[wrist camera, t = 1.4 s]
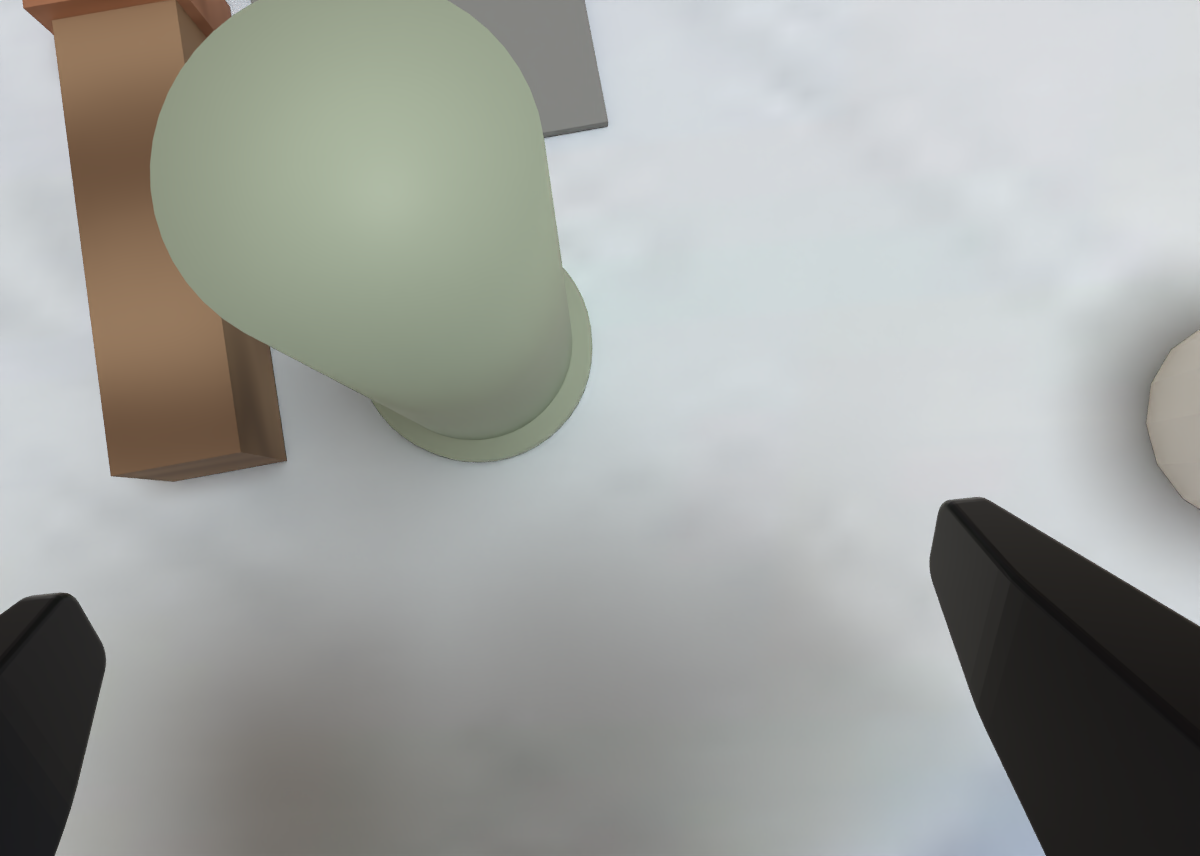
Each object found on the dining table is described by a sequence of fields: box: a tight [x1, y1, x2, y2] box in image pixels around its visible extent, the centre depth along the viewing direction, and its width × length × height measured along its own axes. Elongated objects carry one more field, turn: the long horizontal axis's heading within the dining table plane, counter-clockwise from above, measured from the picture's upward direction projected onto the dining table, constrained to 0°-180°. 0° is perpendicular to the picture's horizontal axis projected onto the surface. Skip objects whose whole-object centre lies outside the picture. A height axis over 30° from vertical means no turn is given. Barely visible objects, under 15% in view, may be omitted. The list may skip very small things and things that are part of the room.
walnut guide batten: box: [23, 0, 287, 482], centre depth 22 cm, size 14×4×4 cm, turn 10°
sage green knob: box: [150, 0, 592, 462], centre depth 17 cm, size 6×6×12 cm
